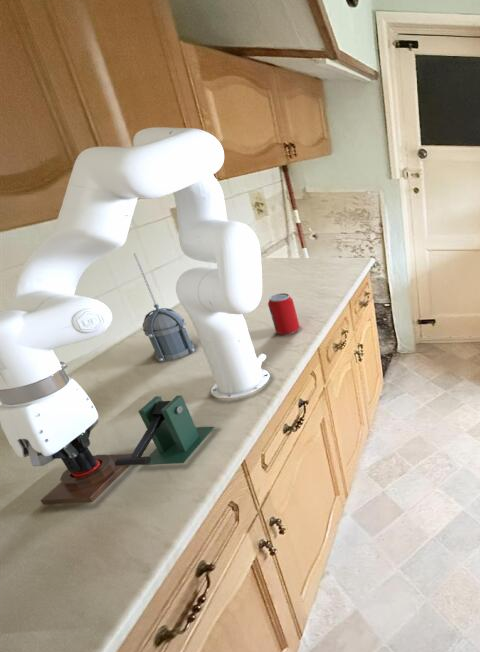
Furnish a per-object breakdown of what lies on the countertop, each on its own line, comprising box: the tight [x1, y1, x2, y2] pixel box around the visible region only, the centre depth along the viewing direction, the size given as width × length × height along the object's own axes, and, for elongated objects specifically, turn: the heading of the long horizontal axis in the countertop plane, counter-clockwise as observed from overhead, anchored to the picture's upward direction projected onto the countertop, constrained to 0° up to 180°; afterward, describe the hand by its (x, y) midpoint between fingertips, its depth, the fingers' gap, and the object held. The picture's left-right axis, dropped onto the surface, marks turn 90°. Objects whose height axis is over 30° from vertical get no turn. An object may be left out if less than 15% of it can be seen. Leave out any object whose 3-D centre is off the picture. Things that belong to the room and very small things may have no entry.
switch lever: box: [115, 400, 171, 466], centre depth 74 cm, size 12×5×2 cm, turn 5°
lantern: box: [133, 253, 196, 363], centre depth 108 cm, size 11×11×30 cm
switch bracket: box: [138, 395, 216, 466], centre depth 79 cm, size 10×8×12 cm
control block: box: [39, 453, 132, 506], centre depth 73 cm, size 10×8×4 cm
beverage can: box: [267, 292, 300, 336], centre depth 124 cm, size 7×7×12 cm
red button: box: [72, 460, 101, 478], centre depth 72 cm, size 4×4×2 cm
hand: (84, 468), depth 71 cm, fingers closed
